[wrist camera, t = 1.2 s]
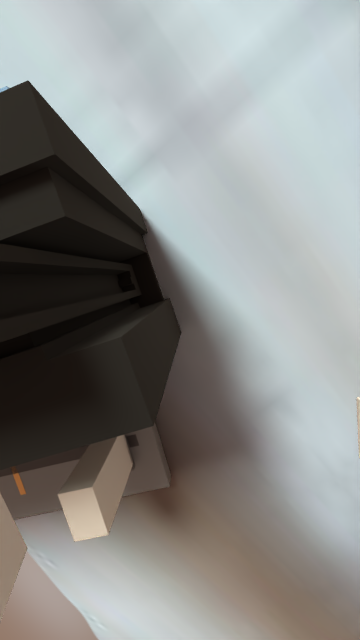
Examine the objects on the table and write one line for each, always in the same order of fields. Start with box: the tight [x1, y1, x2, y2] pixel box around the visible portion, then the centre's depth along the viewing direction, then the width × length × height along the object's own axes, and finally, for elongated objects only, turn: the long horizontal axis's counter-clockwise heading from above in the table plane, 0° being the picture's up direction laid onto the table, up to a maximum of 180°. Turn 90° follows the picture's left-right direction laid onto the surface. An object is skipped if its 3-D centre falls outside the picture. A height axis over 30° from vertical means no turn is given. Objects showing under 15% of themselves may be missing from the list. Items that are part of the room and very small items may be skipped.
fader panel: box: [0, 423, 171, 520], centre depth 37 cm, size 12×23×2 cm, turn 105°
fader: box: [58, 434, 135, 542], centre depth 30 cm, size 6×3×10 cm, turn 15°
